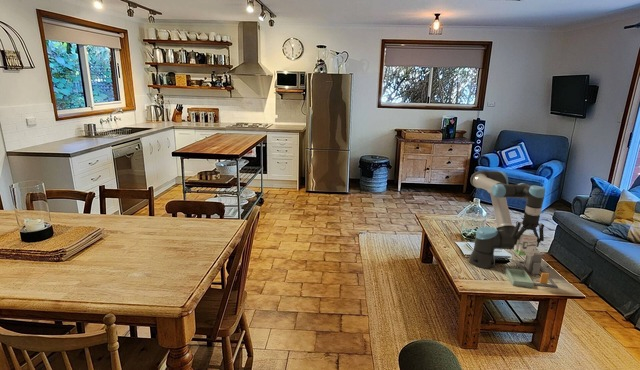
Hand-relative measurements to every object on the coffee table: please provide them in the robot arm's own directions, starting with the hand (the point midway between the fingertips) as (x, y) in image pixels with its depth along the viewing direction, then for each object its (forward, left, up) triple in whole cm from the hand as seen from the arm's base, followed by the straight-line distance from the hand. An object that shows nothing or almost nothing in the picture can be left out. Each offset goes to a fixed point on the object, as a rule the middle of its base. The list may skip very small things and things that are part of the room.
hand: (524, 250), depth 207 cm
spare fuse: (+13, +16, -19) cm, 28 cm away
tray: (0, 0, -19) cm, 19 cm away
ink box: (0, 0, -2) cm, 2 cm away
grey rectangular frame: (+13, +10, -19) cm, 25 cm away
